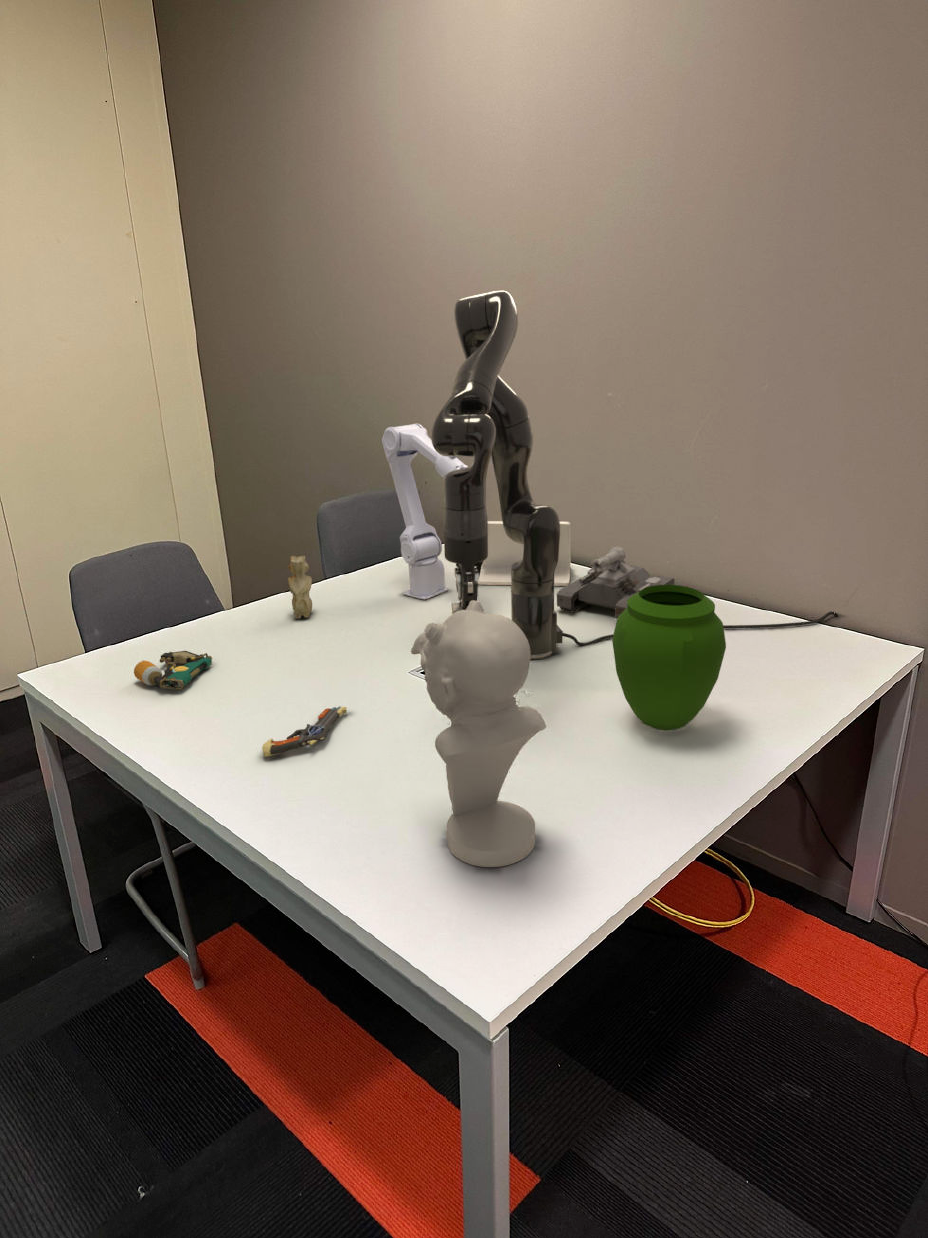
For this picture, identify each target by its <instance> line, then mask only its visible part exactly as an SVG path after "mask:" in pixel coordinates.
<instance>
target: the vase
mask: <svg viewBox="0 0 928 1238" xmlns="http://www.w3.org/2000/svg"><path fill="white" fill-rule="evenodd" d="M715 609H716V604H715V602H714V601H713V600H712V599H711V598H710V597H708V596H707V595H705V594H704V593H703V592H701V591H700V590H698V589H695V588H693V587H688V586H684V585H679V584H678V585H677V584H674V585H656V586H650V587H646V588H644V589H642V590H640V591H639V592H638V593H636V594H634V595H632V596H631V597H630V598H629V599H628V601H627V608H626V609H625V610H624V611H623V612H622V613H621V614H620V615H619V616H618V619H617V618H616V624H615V627H614V631H613V638H611V641H612V642H611V643H612V649H613V656H614V657H613V658H614V664H615V665H614V666H615V671H616V676H617V678H618V681H619V685H620V687H621V690H622V693H623V696H624V699H625V700H626V703H627V704H628V705H629V707H630V709H631V711H632V712H633V714H634V716H636V717H637V718H638V720H639V721H640V722H641V723H642V724H643V725H645V726H647V727H649V728H651V729H654V730H660V731H674V730H679V729H682V728H684V727H686V726H687V725H688V724H689V723H691V722H692V720H694V719H695V718H696V716H697V715H698V714H699V713H700V712H701V710H702V709H703V708H704V707H705V705H706V703H707V702H708V700H709V697H710V695H711V693H712V691H713V689H714V688H715V685H716V684H717V681H718V679H719V676H720V672H721V669H722V664H723V660H724V658H725V657H724V656H725V653H726V650H727V641H726V635H725V629H724V627H723V625H724V623H723V622H722V621H723V620H721V619H720V617H719V616H718V615H717V614H716V612H715Z"/></svg>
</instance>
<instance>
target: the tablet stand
mask: <svg viewBox="0 0 928 1238" xmlns="http://www.w3.org/2000/svg"><path fill="white" fill-rule="evenodd" d="M523 550H524V545H522V544H519V543H516V542H514V541H512V540H511V539H510V538H509V537H508V536H507V534H506V532H505V530H504V527H503V522H502V520H488V557H487V559H486V560H484V561H483V564H482V567H481V572H480V577H479V580H478V585H484V586H485V585H486V586H487V585H489V586H490V585H491V586H511V567H512V564H513V563H514V562H516V561H519V560H522V559H523ZM571 560H572V558H571V522H569V521H560V542H559V557H558V563H557V566H556V568H555V572H554V587H556V586H557V587H566V586H567V585H569V584H570V580H571V579H570V578H571V565H572V564H571Z"/></svg>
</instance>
